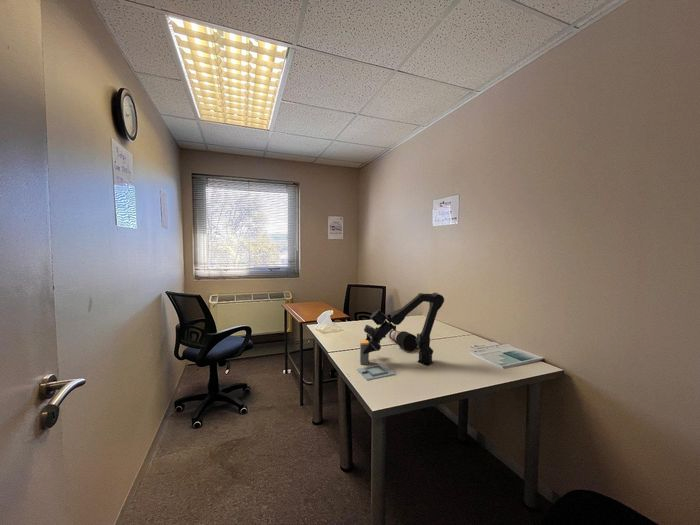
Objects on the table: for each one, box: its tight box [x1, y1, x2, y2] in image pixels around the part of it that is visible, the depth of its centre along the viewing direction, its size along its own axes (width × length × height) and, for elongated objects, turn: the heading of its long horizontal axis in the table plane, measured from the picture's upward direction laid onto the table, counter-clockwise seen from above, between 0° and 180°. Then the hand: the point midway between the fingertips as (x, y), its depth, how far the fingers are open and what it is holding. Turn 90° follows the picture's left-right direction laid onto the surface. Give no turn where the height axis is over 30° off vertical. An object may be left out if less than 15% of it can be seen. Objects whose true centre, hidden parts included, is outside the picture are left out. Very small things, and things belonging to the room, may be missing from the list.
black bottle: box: [387, 329, 418, 352], centre depth 183 cm, size 10×34×10 cm, turn 13°
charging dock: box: [356, 363, 397, 381], centre depth 140 cm, size 16×12×2 cm
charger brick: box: [359, 339, 370, 366], centre depth 151 cm, size 4×4×12 cm
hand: (362, 350), depth 151 cm, fingers open, 9 cm apart
